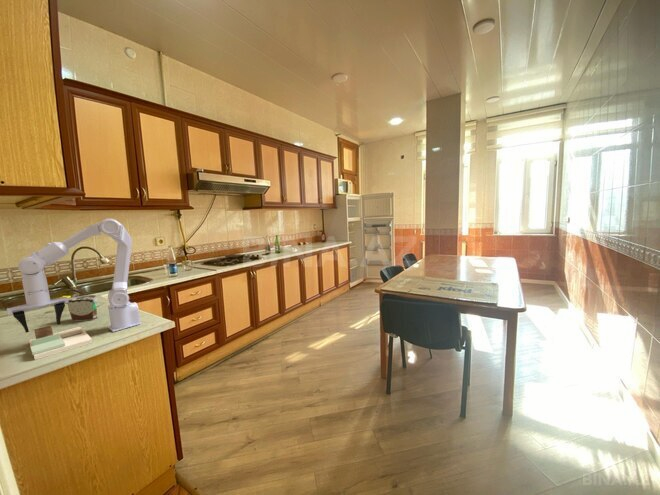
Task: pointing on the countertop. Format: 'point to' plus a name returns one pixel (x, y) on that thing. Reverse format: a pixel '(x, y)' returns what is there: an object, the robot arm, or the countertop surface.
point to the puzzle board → (66, 342)
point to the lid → (46, 344)
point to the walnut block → (43, 332)
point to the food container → (83, 307)
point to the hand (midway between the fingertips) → (43, 327)
